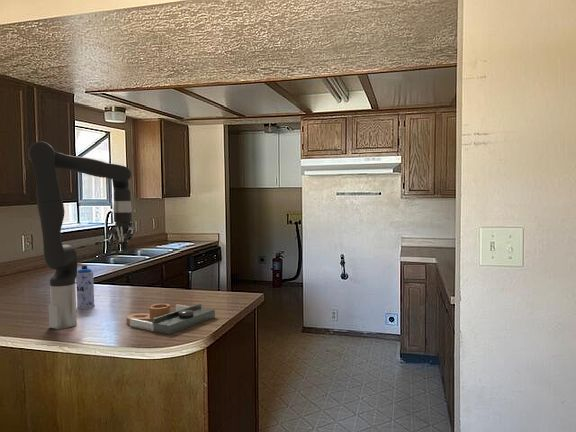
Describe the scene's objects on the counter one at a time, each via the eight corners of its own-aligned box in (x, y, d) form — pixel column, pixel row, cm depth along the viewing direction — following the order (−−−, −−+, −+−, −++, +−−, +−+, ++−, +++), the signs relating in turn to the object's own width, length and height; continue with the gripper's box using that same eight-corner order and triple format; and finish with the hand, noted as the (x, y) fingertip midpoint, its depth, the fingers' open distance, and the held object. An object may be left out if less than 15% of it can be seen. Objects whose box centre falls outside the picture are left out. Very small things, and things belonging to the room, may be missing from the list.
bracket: (172, 319, 186) (172, 303, 186) (167, 325, 178) (166, 308, 178) (130, 319, 186) (130, 304, 186) (123, 325, 178) (122, 309, 178)
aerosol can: (73, 308, 206) (71, 266, 205) (85, 304, 214) (84, 264, 212) (85, 309, 203) (84, 267, 202) (98, 305, 211) (97, 264, 210)
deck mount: (169, 334, 165) (168, 321, 165) (129, 326, 177) (129, 313, 176) (214, 317, 188) (214, 305, 187) (177, 310, 199) (177, 299, 199)
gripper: (105, 211, 193) (107, 250, 194) (125, 211, 186) (126, 252, 187) (120, 210, 199) (121, 248, 200) (139, 211, 192) (140, 249, 193)
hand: (123, 250), depth 193 cm, fingers closed
